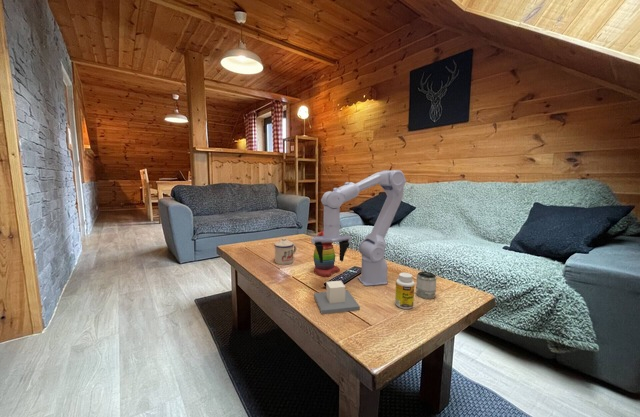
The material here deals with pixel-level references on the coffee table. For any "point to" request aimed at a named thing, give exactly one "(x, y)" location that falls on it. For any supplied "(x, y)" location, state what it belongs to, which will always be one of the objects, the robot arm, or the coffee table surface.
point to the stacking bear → (325, 259)
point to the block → (335, 291)
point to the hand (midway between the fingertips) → (331, 261)
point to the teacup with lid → (284, 252)
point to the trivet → (336, 307)
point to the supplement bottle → (404, 291)
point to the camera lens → (426, 285)
